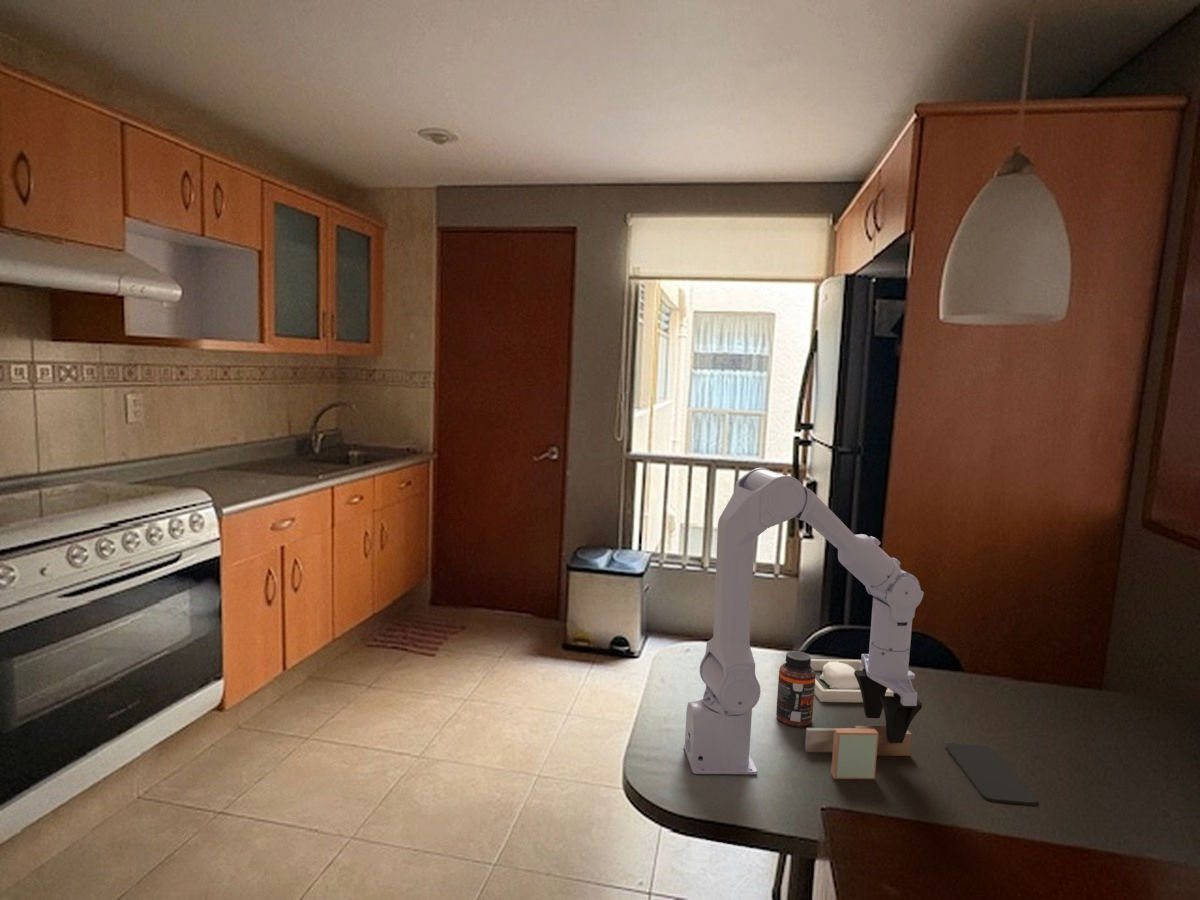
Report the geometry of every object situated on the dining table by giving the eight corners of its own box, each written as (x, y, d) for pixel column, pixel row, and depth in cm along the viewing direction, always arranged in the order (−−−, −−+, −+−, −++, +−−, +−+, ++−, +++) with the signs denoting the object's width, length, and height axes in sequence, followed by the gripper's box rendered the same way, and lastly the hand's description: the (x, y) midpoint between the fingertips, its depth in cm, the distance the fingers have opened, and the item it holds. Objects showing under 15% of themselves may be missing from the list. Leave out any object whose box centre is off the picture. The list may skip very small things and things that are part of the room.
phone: (984, 798, 96) (942, 742, 111) (984, 804, 96) (942, 747, 111) (1041, 803, 95) (991, 746, 110) (1040, 809, 95) (990, 751, 110)
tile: (834, 779, 100) (838, 733, 99) (831, 774, 101) (834, 728, 101) (875, 779, 100) (878, 733, 100) (871, 774, 102) (874, 728, 101)
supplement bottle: (804, 732, 114) (809, 665, 112) (770, 720, 117) (774, 655, 116) (817, 718, 118) (821, 654, 117) (784, 708, 122) (788, 645, 121)
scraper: (808, 755, 106) (810, 733, 106) (802, 746, 109) (804, 725, 109) (910, 755, 107) (911, 734, 107) (902, 747, 110) (904, 726, 110)
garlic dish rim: (821, 701, 125) (821, 691, 125) (794, 668, 139) (794, 658, 139) (894, 702, 126) (895, 692, 125) (860, 669, 140) (861, 659, 140)
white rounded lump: (814, 675, 137) (815, 656, 137) (846, 675, 138) (848, 656, 137) (831, 693, 129) (832, 673, 129) (866, 693, 130) (867, 673, 129)
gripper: (940, 664, 100) (933, 754, 101) (892, 628, 114) (886, 707, 115) (892, 663, 99) (885, 753, 101) (850, 627, 114) (845, 707, 115)
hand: (883, 729), depth 108 cm, fingers open, 7 cm apart
